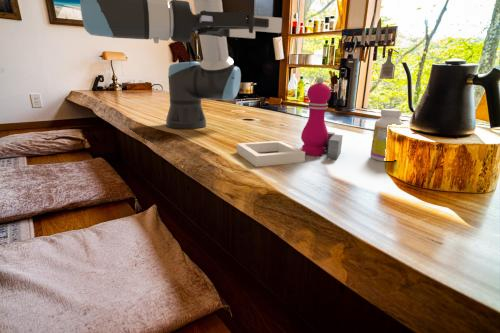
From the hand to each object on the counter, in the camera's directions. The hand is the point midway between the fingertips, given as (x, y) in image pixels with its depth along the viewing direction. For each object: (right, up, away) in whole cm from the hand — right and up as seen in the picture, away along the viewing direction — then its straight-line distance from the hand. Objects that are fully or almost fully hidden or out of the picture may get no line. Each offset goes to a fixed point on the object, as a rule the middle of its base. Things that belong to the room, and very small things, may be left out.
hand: (266, 29), depth 68 cm
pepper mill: (+14, -27, +15) cm, 34 cm away
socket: (+1, -28, +10) cm, 30 cm away
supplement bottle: (+31, -29, +12) cm, 44 cm away
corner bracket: (+17, -27, +16) cm, 36 cm away
